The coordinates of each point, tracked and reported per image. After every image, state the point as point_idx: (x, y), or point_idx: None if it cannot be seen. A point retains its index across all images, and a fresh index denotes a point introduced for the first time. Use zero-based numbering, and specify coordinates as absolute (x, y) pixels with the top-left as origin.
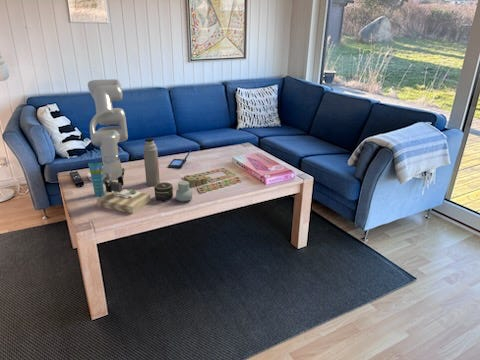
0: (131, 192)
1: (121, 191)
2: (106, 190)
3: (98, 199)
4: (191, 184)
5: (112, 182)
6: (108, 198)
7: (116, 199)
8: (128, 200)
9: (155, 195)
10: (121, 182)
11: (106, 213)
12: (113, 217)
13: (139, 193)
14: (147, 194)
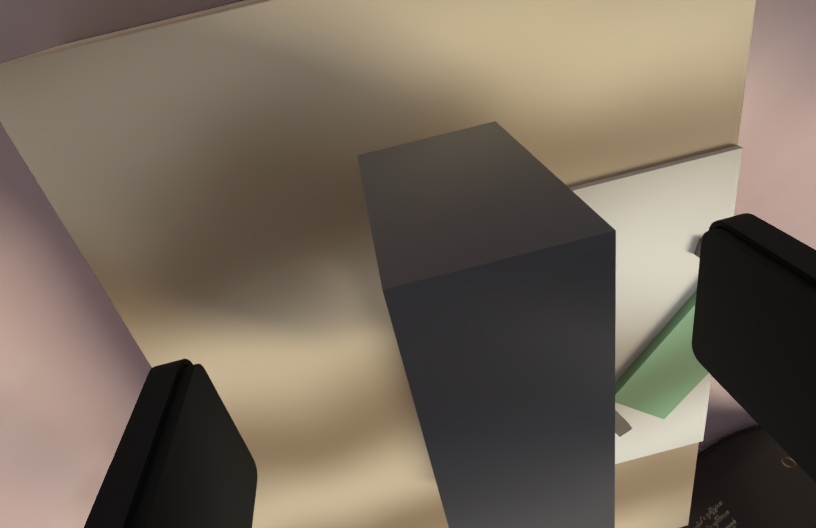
0: (636, 376)
1: (617, 193)
2: (151, 391)
3: (10, 114)
4: None
5: (529, 408)
6: (229, 251)
7: (312, 381)
8: (405, 504)
9: (712, 513)
10: (756, 391)
11: (73, 363)
12: (100, 485)
13: (657, 453)
14: (673, 513)
